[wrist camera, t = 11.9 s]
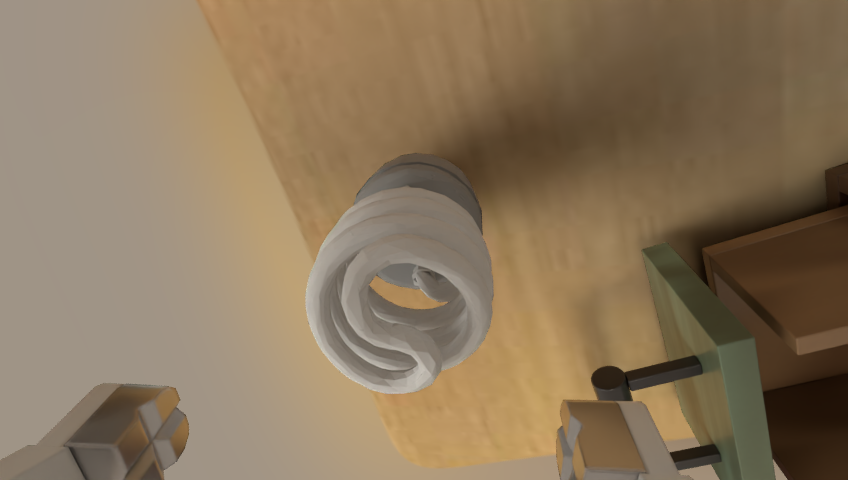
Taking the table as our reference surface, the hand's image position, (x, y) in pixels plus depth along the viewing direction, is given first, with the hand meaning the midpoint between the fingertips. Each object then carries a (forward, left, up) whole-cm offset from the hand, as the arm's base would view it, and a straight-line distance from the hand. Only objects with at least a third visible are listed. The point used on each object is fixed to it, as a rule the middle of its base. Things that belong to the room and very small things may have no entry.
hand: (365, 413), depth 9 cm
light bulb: (0, 0, -15) cm, 15 cm away
